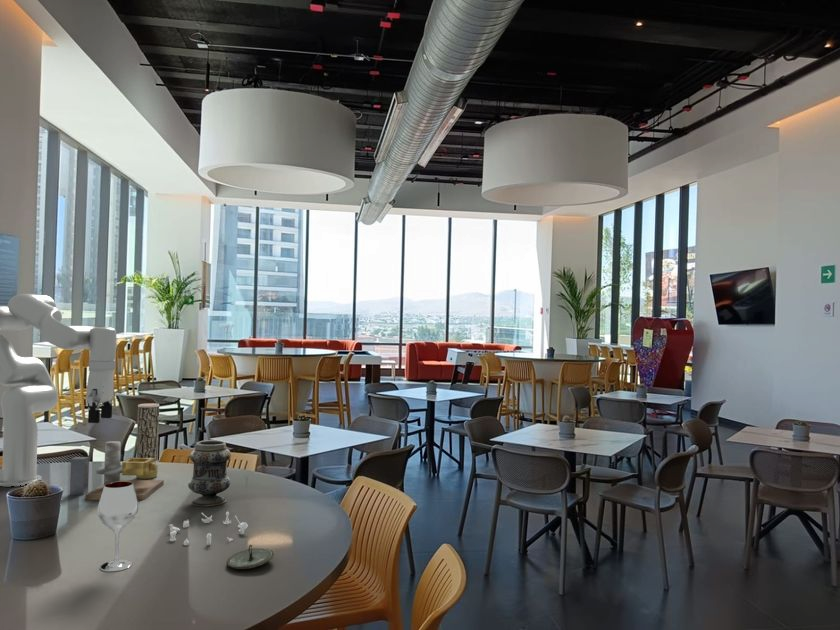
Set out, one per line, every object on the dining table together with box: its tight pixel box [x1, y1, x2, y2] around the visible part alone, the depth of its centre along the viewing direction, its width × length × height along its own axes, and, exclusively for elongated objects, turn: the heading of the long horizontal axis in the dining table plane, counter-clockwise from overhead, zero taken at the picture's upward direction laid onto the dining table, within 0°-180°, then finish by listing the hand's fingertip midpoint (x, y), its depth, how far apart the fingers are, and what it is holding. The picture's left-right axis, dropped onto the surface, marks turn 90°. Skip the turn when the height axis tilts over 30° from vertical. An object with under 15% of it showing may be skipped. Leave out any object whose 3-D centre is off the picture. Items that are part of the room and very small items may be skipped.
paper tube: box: [135, 402, 160, 480], centre depth 219 cm, size 7×7×25 cm
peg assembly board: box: [84, 440, 165, 501], centre depth 200 cm, size 18×18×16 cm
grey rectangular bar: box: [69, 456, 90, 496], centre depth 197 cm, size 4×3×11 cm
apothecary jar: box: [187, 439, 232, 508], centre depth 191 cm, size 12×12×18 cm
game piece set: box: [168, 510, 249, 546], centre depth 163 cm, size 19×20×4 cm
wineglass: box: [96, 481, 139, 573], centre depth 140 cm, size 8×8×18 cm
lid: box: [226, 544, 275, 570], centre depth 143 cm, size 11×10×5 cm
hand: (100, 420), depth 200 cm, fingers open, 9 cm apart
